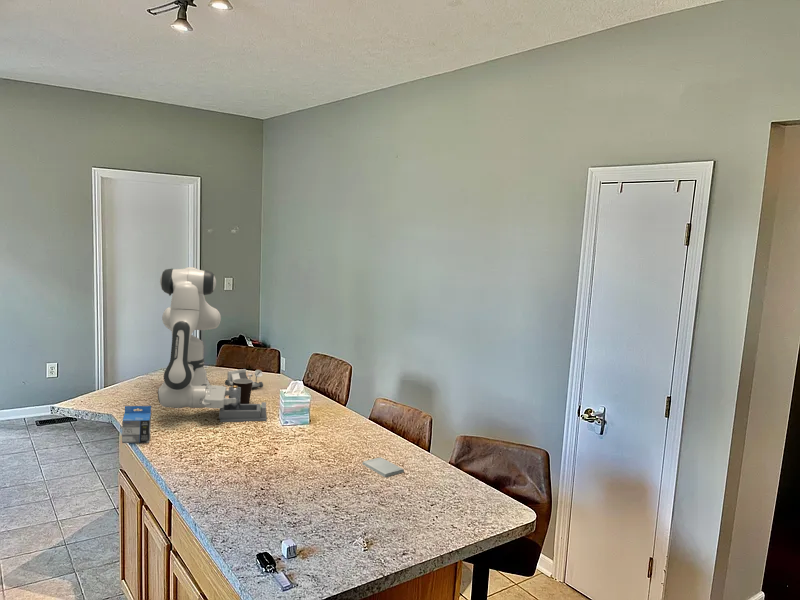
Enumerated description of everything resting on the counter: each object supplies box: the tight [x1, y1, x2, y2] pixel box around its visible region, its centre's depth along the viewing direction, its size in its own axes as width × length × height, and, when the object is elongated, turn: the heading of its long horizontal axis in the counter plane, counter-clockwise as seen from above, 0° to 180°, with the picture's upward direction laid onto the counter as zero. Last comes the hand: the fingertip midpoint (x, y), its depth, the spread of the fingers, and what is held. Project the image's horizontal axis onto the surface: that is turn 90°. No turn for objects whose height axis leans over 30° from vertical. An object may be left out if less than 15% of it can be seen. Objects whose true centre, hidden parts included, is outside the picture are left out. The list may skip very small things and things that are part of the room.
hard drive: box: [361, 456, 405, 478], centre depth 194 cm, size 2×8×12 cm
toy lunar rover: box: [224, 368, 264, 388], centre depth 281 cm, size 18×10×12 cm
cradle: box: [218, 401, 267, 423], centre depth 236 cm, size 12×18×5 cm, turn 104°
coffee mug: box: [232, 378, 254, 404], centre depth 256 cm, size 12×9×10 cm
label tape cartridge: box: [121, 405, 152, 444], centre depth 202 cm, size 9×4×12 cm, turn 105°
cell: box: [228, 385, 241, 410], centre depth 235 cm, size 5×5×12 cm
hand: (236, 396), depth 234 cm, fingers open, 8 cm apart
